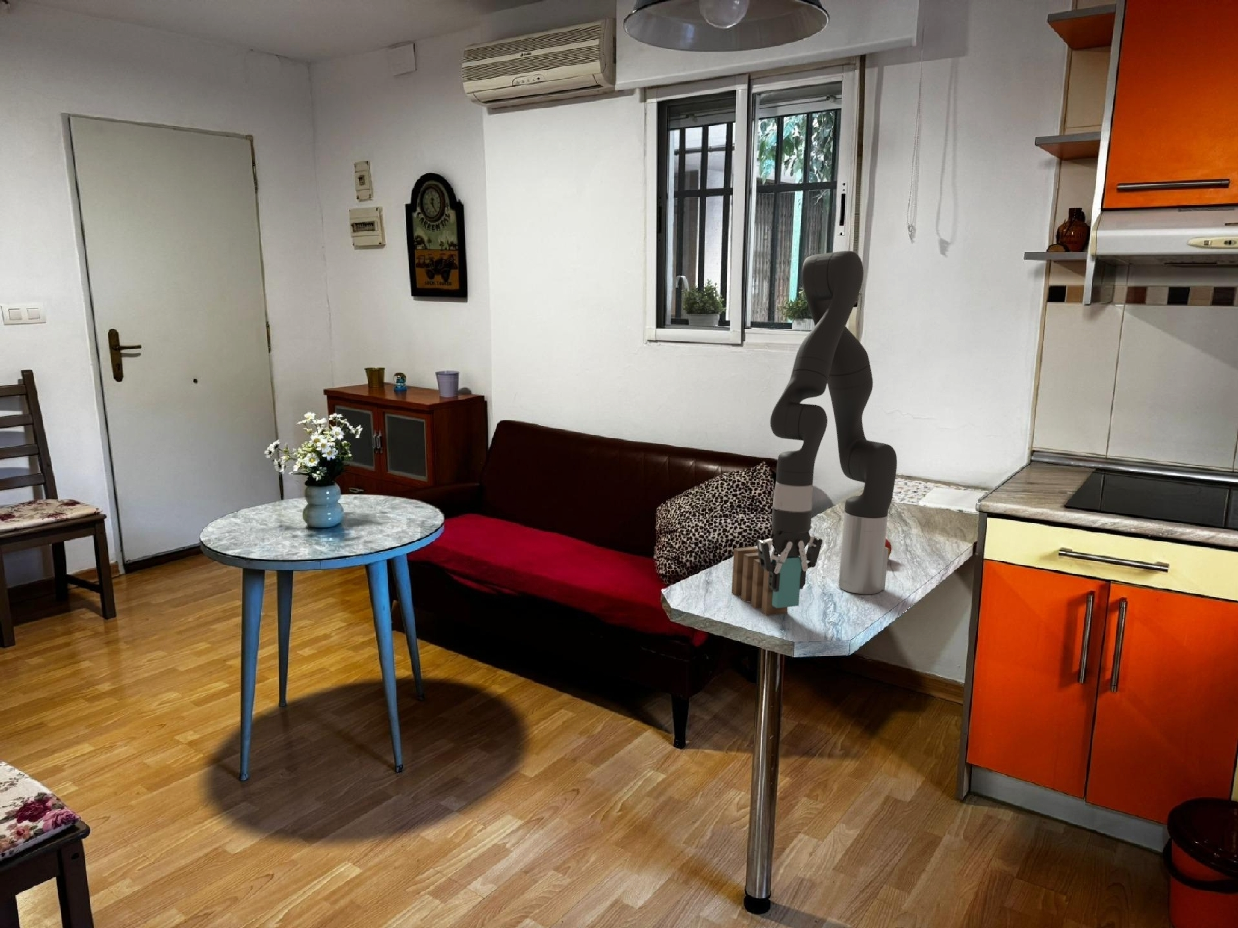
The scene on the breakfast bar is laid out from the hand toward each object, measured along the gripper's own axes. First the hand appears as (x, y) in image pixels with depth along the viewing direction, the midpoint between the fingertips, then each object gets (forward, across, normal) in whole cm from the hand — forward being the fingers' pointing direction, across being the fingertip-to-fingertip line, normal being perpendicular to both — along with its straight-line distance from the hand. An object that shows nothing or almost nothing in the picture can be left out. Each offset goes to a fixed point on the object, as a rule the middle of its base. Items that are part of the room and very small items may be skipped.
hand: (786, 588), depth 169 cm
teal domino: (+3, 0, 0) cm, 3 cm away
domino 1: (+6, 0, -17) cm, 18 cm away
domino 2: (+6, 0, -12) cm, 14 cm away
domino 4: (+6, 0, -4) cm, 8 cm away
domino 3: (+6, 0, -8) cm, 11 cm away
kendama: (+6, -41, -27) cm, 49 cm away
